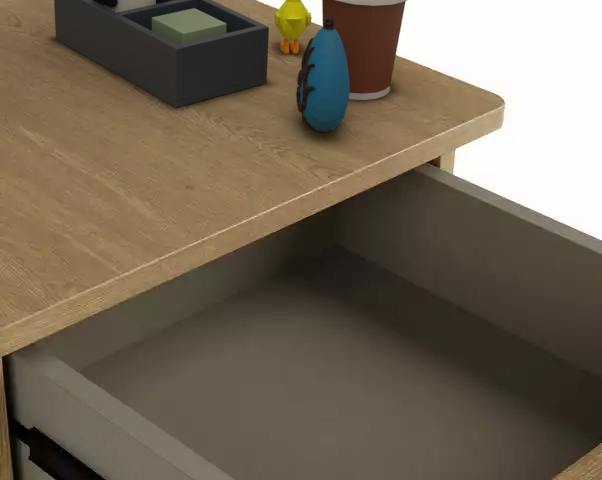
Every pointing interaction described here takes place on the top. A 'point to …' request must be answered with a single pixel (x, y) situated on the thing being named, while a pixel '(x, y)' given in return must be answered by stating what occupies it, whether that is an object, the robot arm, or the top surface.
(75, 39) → the dark grey divided tray
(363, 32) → the coffee cup
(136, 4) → the white cylinder
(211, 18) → the sage block
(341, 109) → the ornament
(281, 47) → the toy figure
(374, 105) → the top surface
